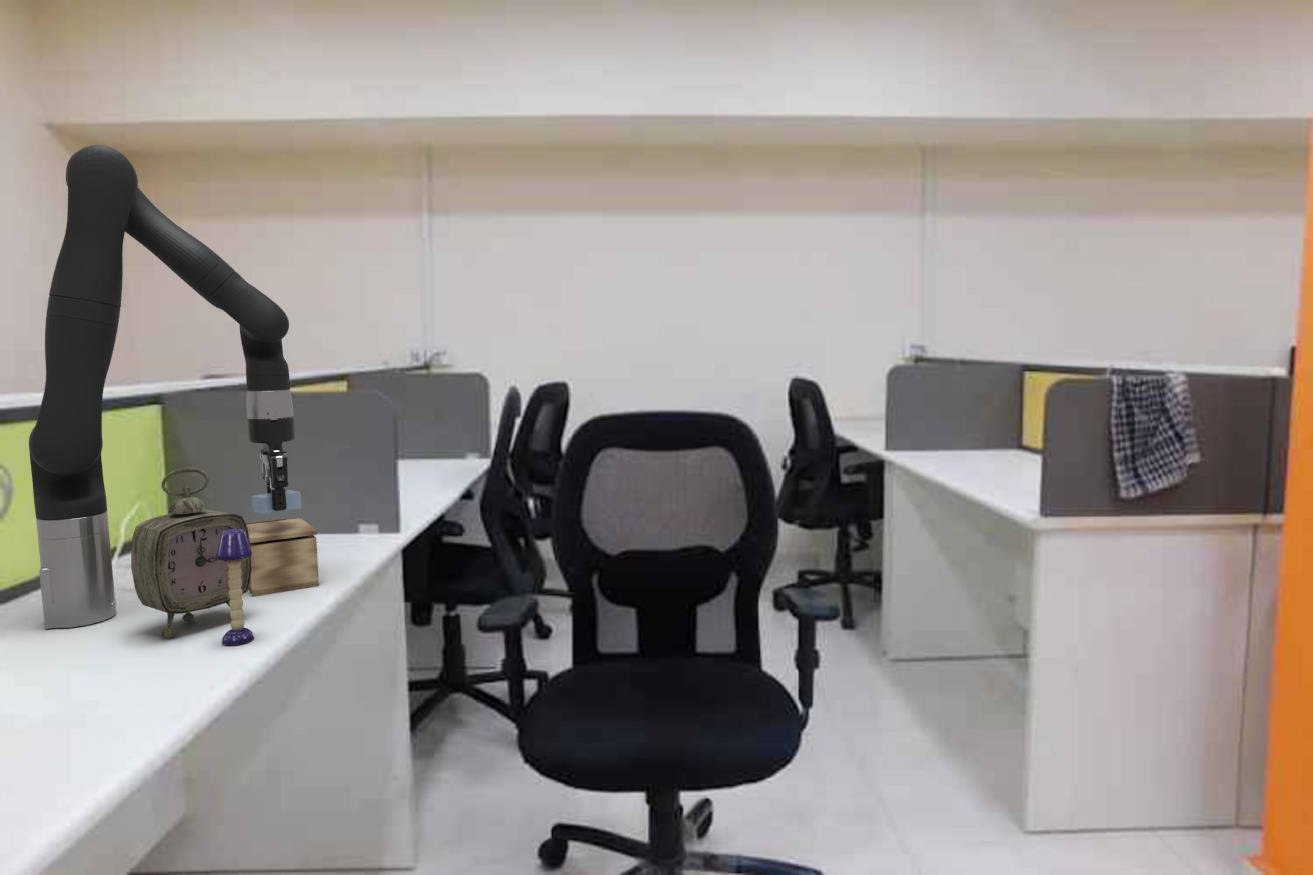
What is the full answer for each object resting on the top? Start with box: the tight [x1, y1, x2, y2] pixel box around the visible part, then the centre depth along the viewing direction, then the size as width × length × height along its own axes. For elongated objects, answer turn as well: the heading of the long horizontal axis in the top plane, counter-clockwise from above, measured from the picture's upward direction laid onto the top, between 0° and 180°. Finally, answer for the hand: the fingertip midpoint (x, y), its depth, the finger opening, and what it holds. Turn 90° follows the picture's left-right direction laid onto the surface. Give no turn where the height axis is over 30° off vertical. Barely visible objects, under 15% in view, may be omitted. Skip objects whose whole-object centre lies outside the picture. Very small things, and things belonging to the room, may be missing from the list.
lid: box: [246, 518, 318, 543], centre depth 148 cm, size 11×16×1 cm
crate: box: [248, 535, 320, 597], centre depth 149 cm, size 11×16×9 cm
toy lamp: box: [216, 529, 255, 646], centre depth 117 cm, size 5×5×17 cm
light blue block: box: [251, 489, 302, 515], centre depth 145 cm, size 7×4×3 cm, turn 144°
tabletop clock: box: [130, 467, 251, 639], centre depth 124 cm, size 14×9×25 cm, turn 147°
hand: (277, 507), depth 145 cm, fingers closed on light blue block, 5 cm apart
